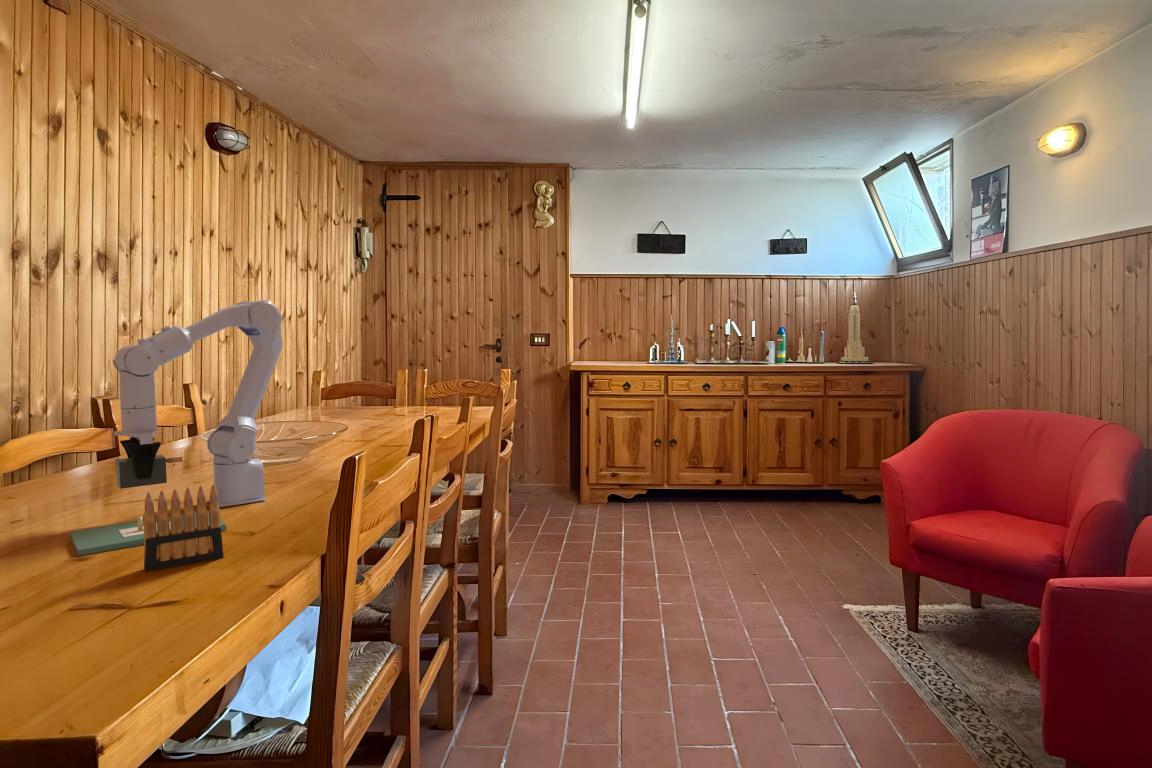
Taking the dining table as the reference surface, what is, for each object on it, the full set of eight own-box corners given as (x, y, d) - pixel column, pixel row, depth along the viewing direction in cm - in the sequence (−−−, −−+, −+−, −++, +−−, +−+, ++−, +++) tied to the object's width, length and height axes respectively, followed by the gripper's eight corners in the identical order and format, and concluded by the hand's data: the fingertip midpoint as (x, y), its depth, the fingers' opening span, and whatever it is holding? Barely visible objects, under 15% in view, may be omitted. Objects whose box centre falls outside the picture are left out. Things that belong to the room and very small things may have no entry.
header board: (207, 514, 133) (206, 497, 133) (226, 529, 123) (225, 511, 123) (69, 536, 119) (68, 517, 119) (78, 556, 108) (77, 534, 108)
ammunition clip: (145, 572, 101) (141, 494, 100) (144, 568, 103) (140, 492, 102) (223, 558, 108) (221, 484, 107) (221, 555, 109) (218, 482, 108)
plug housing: (180, 477, 136) (179, 452, 136) (185, 480, 133) (184, 455, 133) (116, 484, 129) (115, 459, 129) (120, 488, 126) (119, 462, 125)
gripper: (108, 405, 132) (111, 473, 133) (119, 412, 121) (123, 485, 122) (149, 403, 136) (152, 469, 137) (164, 409, 126) (167, 480, 127)
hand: (141, 476), depth 130 cm, fingers closed on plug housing, 4 cm apart
